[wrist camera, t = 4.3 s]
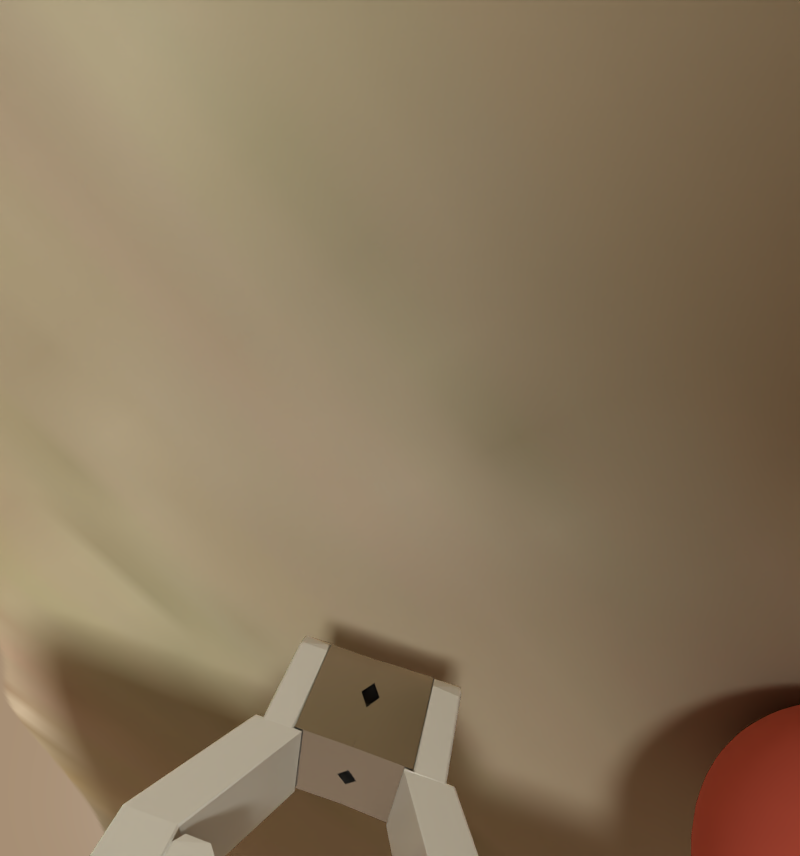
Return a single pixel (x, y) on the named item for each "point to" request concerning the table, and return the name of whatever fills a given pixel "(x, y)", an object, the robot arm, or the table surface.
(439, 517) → the table surface
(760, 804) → the ball
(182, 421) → the table surface
